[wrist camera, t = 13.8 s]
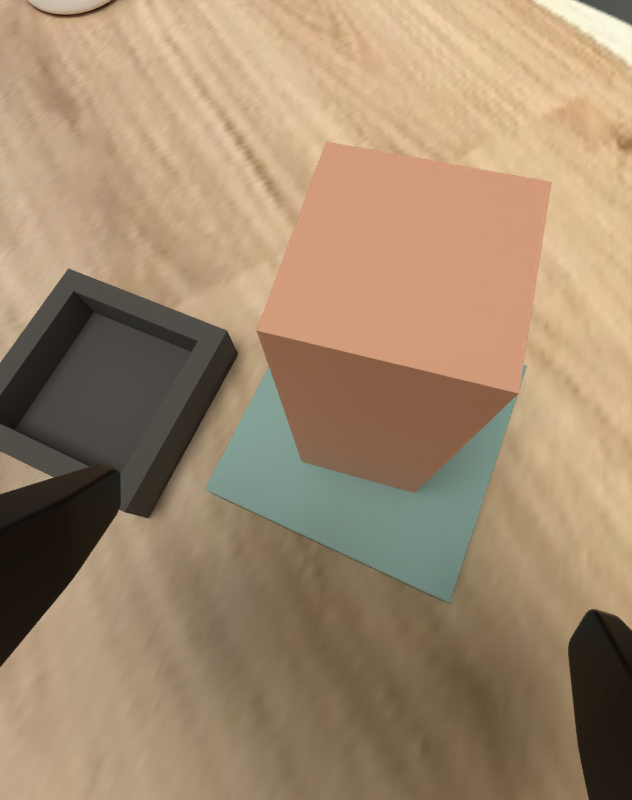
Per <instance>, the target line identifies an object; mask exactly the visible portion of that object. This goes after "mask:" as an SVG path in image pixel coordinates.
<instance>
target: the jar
mask: <svg viewBox="0 0 632 800" xmlns="http://www.w3.org/2000/svg"><path fill="white" fill-rule="evenodd" d="M110 1H111V0H28V2H29V3H31V4H32V5H33V6H35V7H36V8H38V9H40V10H42V11H45V12H48V13H54V14H77V13H82V12H86V11H90V10H93V9H96V8H98V7H101V6H102V5H104V4H106V3H108V2H110Z"/></svg>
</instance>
